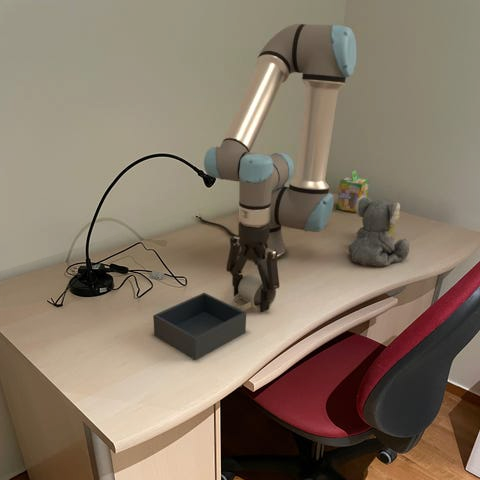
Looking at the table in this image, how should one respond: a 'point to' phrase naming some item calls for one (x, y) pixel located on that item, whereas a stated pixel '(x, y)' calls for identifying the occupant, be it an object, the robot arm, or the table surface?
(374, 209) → the koala plush
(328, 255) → the table surface
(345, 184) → the chalk box
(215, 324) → the bin
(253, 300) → the ceramic mug
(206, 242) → the table surface
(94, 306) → the table surface
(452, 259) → the table surface
